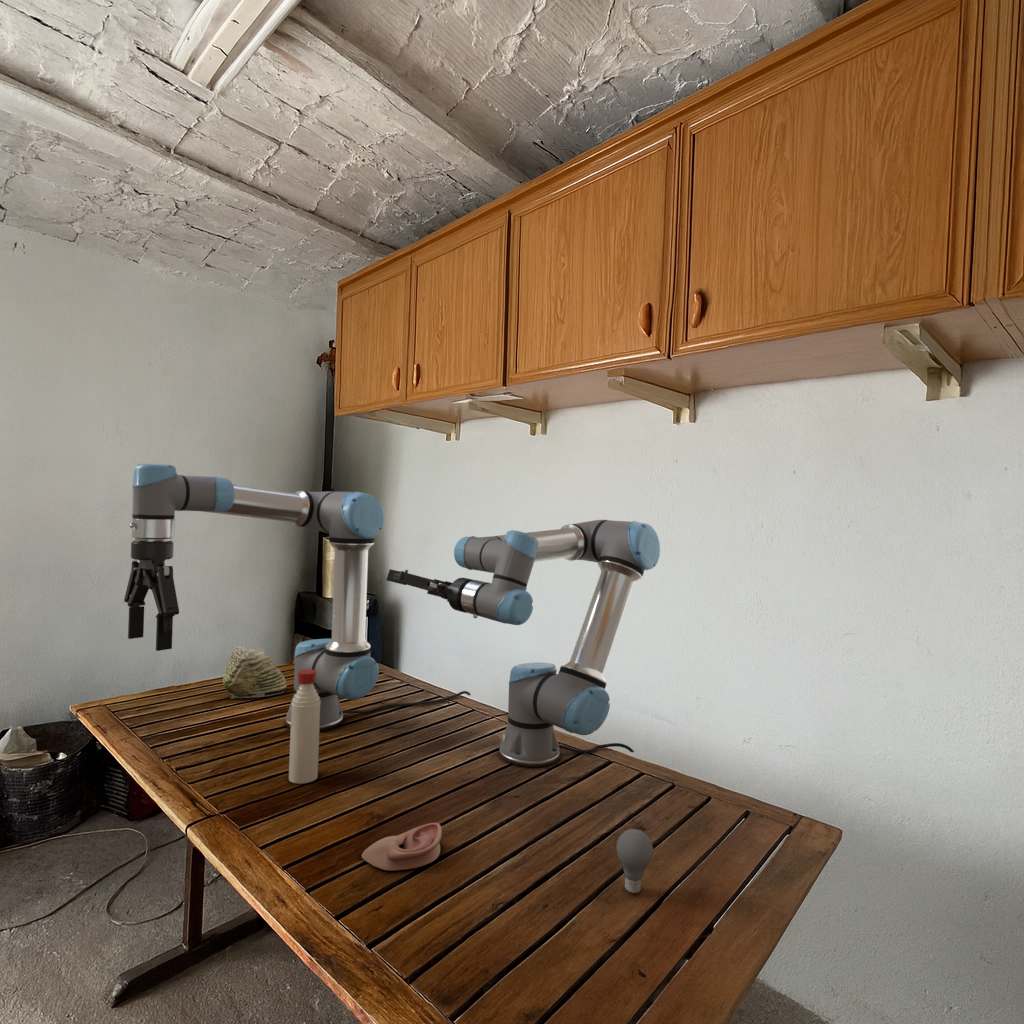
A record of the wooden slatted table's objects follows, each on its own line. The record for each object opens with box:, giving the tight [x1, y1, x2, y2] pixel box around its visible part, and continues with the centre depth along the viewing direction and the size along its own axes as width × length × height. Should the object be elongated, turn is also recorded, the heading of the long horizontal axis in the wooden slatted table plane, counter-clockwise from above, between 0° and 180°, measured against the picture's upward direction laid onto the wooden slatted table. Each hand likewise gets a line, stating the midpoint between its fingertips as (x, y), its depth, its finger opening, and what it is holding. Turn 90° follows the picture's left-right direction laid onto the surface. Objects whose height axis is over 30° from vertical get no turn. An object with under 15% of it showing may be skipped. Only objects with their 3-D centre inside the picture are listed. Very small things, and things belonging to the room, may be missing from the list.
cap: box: [298, 669, 316, 684], centre depth 142 cm, size 4×4×2 cm
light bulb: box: [615, 828, 654, 894], centre depth 106 cm, size 6×6×10 cm
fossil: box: [222, 646, 288, 699], centre depth 198 cm, size 9×18×15 cm, turn 132°
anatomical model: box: [361, 822, 443, 872], centre depth 114 cm, size 13×4×12 cm
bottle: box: [288, 684, 321, 785], centre depth 142 cm, size 6×6×24 cm
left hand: (149, 643), depth 129 cm, fingers open, 13 cm apart
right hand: (409, 582), depth 154 cm, fingers open, 13 cm apart
